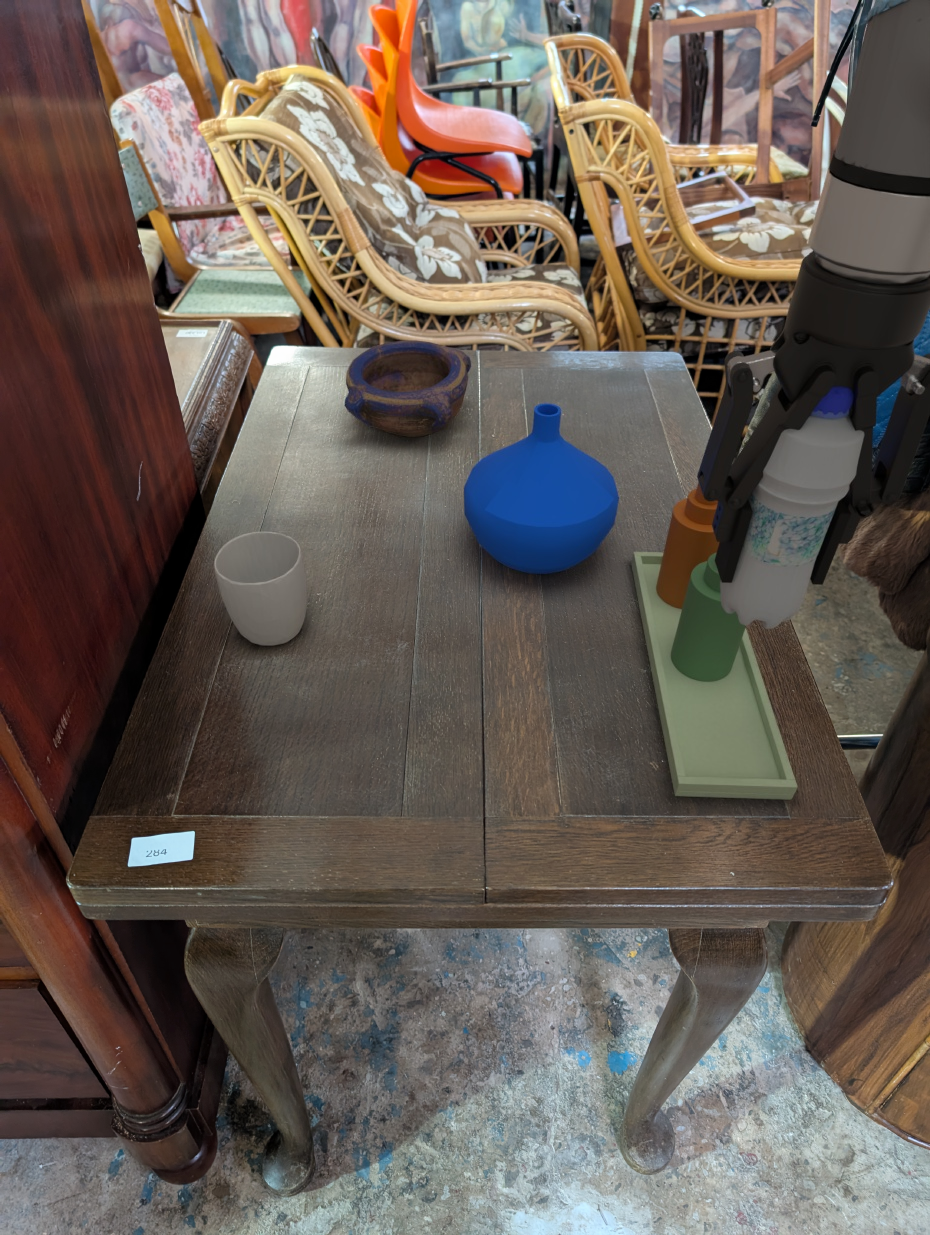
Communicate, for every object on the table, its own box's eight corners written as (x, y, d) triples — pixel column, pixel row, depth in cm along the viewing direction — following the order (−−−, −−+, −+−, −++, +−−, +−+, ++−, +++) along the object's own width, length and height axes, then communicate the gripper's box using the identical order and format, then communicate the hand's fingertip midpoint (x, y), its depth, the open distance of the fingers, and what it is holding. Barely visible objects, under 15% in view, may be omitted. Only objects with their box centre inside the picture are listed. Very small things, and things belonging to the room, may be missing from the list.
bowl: (333, 447, 117) (325, 383, 110) (372, 391, 130) (367, 331, 123) (451, 462, 114) (450, 398, 107) (479, 403, 127) (480, 343, 120)
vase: (475, 604, 92) (478, 461, 79) (453, 512, 105) (452, 376, 92) (628, 589, 94) (656, 447, 81) (588, 501, 107) (605, 366, 94)
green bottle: (741, 678, 82) (784, 557, 71) (682, 684, 81) (716, 563, 71) (718, 635, 87) (755, 516, 76) (662, 641, 86) (691, 521, 75)
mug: (312, 652, 86) (299, 581, 79) (227, 658, 85) (207, 587, 78) (315, 577, 95) (304, 508, 88) (239, 582, 94) (222, 512, 88)
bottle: (730, 572, 67) (798, 342, 54) (809, 602, 64) (903, 368, 51) (698, 615, 63) (763, 379, 49) (781, 650, 60) (874, 410, 47)
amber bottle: (720, 607, 90) (756, 488, 79) (666, 612, 90) (694, 493, 79) (700, 571, 95) (731, 455, 84) (648, 576, 94) (673, 459, 83)
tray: (791, 800, 72) (798, 787, 71) (674, 796, 72) (678, 783, 71) (718, 566, 97) (721, 553, 95) (631, 564, 97) (633, 551, 96)
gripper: (1011, 240, 48) (875, 545, 64) (693, 236, 48) (636, 540, 64) (1078, 286, 42) (911, 607, 58) (718, 281, 43) (649, 602, 58)
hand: (767, 571), depth 61 cm, fingers closed on bottle, 6 cm apart
